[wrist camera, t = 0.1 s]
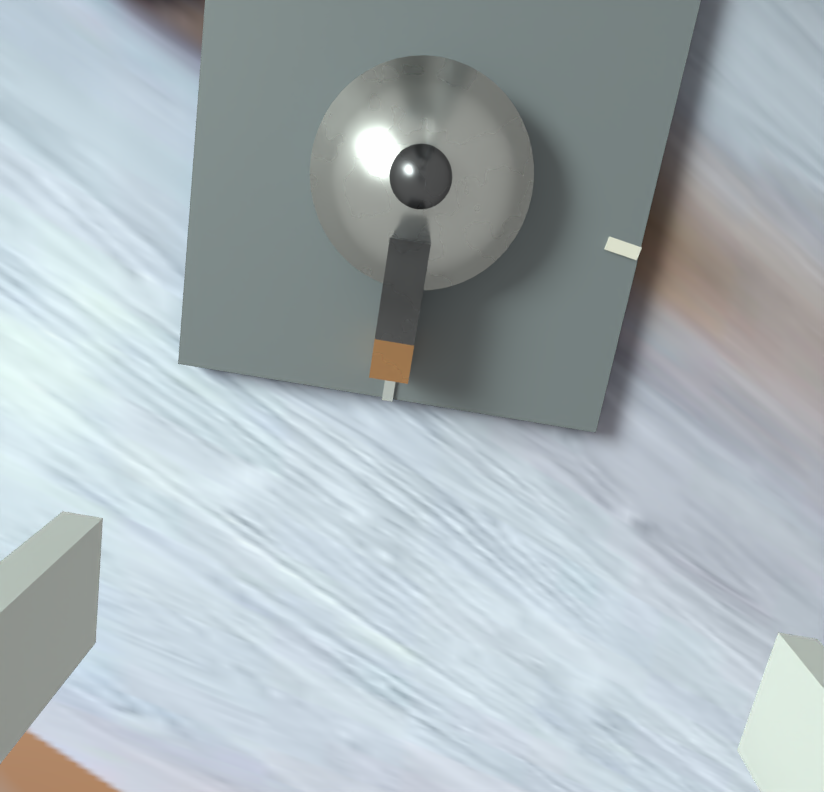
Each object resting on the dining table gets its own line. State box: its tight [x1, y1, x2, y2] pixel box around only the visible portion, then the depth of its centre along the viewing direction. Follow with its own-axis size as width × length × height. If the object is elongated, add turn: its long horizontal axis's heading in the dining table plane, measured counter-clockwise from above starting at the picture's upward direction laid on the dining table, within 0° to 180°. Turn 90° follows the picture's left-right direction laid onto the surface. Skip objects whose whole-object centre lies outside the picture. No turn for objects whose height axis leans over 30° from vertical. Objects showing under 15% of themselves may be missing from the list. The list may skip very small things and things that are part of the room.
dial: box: [310, 55, 534, 384], centre depth 35 cm, size 16×11×4 cm
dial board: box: [178, 0, 701, 432], centre depth 37 cm, size 24×24×2 cm
